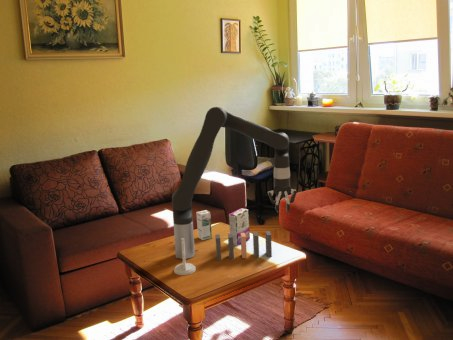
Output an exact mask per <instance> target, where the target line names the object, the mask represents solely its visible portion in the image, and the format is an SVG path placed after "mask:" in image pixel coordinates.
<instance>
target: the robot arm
mask: <svg viewBox="0 0 453 340" xmlns="http://www.w3.org/2000/svg"><path fill="white" fill-rule="evenodd" d="M221 128H225V129H228V130H229V129H230V130H232V131H235V132H238V133H239V134H240V135H241V134H242V135H244V136H245V137H248V138H251V139H252V140H254V141H258V142H261V143H264V144H265V145H268V146H269V147H271V148H273V150H274V157H273V189H272V190H268V191H267V195H268V197H269V200H270V202H271V204H272V205H274V206H275V207H274V210H275V212H277V213H280V205H279V202H280V199H282V198H284V199H285V201H286V203H285V211H286V213H287V212H289V211H290V210H291V204H292V203H295V199H296V195H297V194H298V191H297V190H296V188H295V189H293V188H291V170H290V155H289V154H290V153H289V152H290V138H289V136H288V134H286V133H285V132H275V131H273V130H271V129H270V128H268V127H266V126H263V125H261V124H259V123H256V122H253V121H249V120H246V119H243V118H240V117H238V116H235V115H234V114H232V113H230V112H228V110H225V109H223V108H222V107H220V106H219V107H218V106H214V107H211V108H209V109H208V110H207V112H206V114H205V118H204V121H203V124H202V127H201V130H200V133H199V135H198V137H197V138H196V140H195V142H194V144H193V147H192V149H191V151H190V153H189V156H188V159H187V161H186V165H185V168H184V171H183V176H182V180H181V182H180V184H179V186H178V188H176V189H174V191H173V192H172V195H171V205H172V218H173V219H172V220H173V234H174V235H173V236H174V252H175V259H181V260H183V258H182V241H181V238H184V244H185V259H186V260H187V259H191V258H194V257H195V256H196V252H195V251H196V249H195V237H194V235H195V233H194V221H193V220H194V219H193V218H194V216H193V215H194V214H193V205H192V204H193V203H192V201H193V198H194V195H195V192H196V189H197V186H198V184H199V182H200V181H201V178H202V176H203V174H204V172H205V171H206V168H207V166H208V163H209V161H210V159H211V156H212V152H213V148H214V144H215V140H216V138H217V136H218V134H219V132H220V130H221ZM290 193H291V196H290V198H289V194H290ZM274 195H275V200H274V198H273V196H274Z"/></svg>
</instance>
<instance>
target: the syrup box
mask: <svg viewBox="0 0 453 340" xmlns="http://www.w3.org/2000/svg"><path fill="white" fill-rule="evenodd" d="M195 213H196V214H195V215H196V224H197V225H196V227H197V237H198V238H199V239H200V240H201V241H206V240H209V239H212V238H213V232H212V220H211V219H212V217H211V211H209V210H207V209H205V210H201V211H196V212H195Z"/></svg>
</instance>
